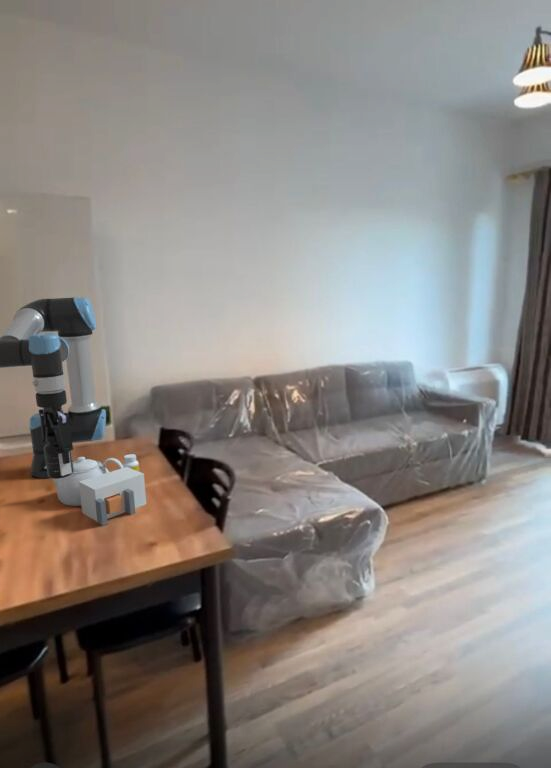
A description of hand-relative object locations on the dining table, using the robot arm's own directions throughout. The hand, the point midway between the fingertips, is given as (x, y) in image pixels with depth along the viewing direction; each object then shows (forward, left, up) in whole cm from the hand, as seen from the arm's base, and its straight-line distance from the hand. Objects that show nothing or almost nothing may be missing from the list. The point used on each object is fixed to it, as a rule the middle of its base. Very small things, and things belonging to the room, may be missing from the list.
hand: (60, 470), depth 136 cm
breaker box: (+2, +15, -17) cm, 22 cm away
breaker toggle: (+3, +12, -15) cm, 19 cm away
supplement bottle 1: (0, 0, -1) cm, 1 cm away
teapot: (-16, +14, -17) cm, 27 cm away
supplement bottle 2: (-15, +30, -17) cm, 37 cm away
